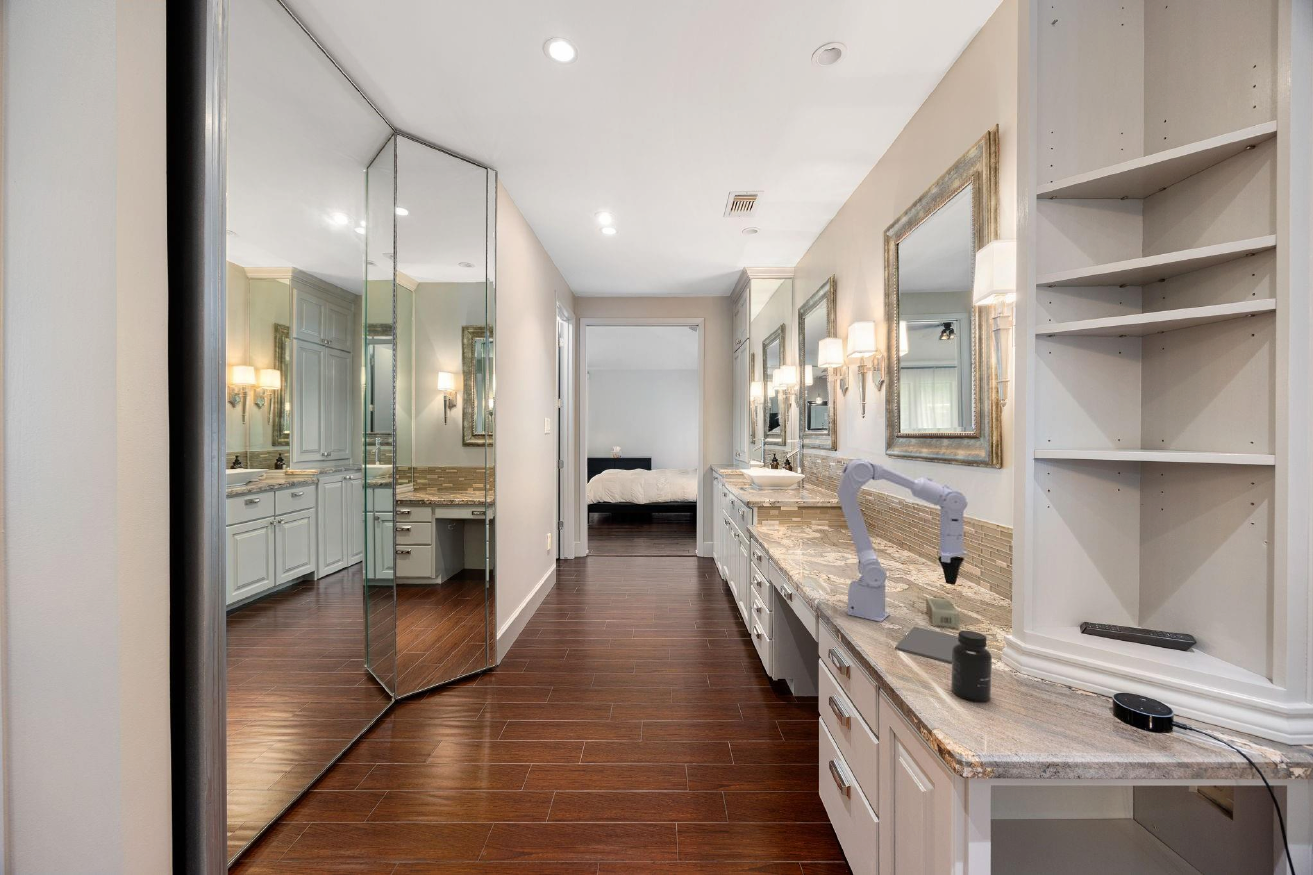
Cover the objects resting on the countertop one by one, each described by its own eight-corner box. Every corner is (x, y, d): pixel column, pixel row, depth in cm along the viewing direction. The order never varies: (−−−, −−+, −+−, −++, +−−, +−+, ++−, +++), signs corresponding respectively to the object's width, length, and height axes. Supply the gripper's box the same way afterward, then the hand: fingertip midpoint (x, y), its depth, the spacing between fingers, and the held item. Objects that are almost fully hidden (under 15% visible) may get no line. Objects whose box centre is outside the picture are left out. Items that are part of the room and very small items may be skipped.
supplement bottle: (990, 706, 103) (992, 644, 103) (950, 696, 107) (951, 636, 106) (991, 691, 109) (992, 632, 108) (952, 682, 112) (953, 625, 112)
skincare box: (959, 629, 142) (951, 614, 153) (959, 613, 142) (951, 599, 153) (931, 626, 144) (925, 611, 156) (932, 610, 144) (926, 596, 156)
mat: (894, 649, 129) (895, 646, 129) (914, 628, 142) (914, 626, 142) (961, 666, 120) (961, 663, 120) (975, 642, 134) (975, 640, 133)
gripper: (963, 540, 139) (962, 592, 139) (972, 531, 150) (972, 580, 151) (932, 536, 143) (932, 587, 144) (944, 528, 155) (944, 575, 155)
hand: (950, 583), depth 147 cm, fingers closed
